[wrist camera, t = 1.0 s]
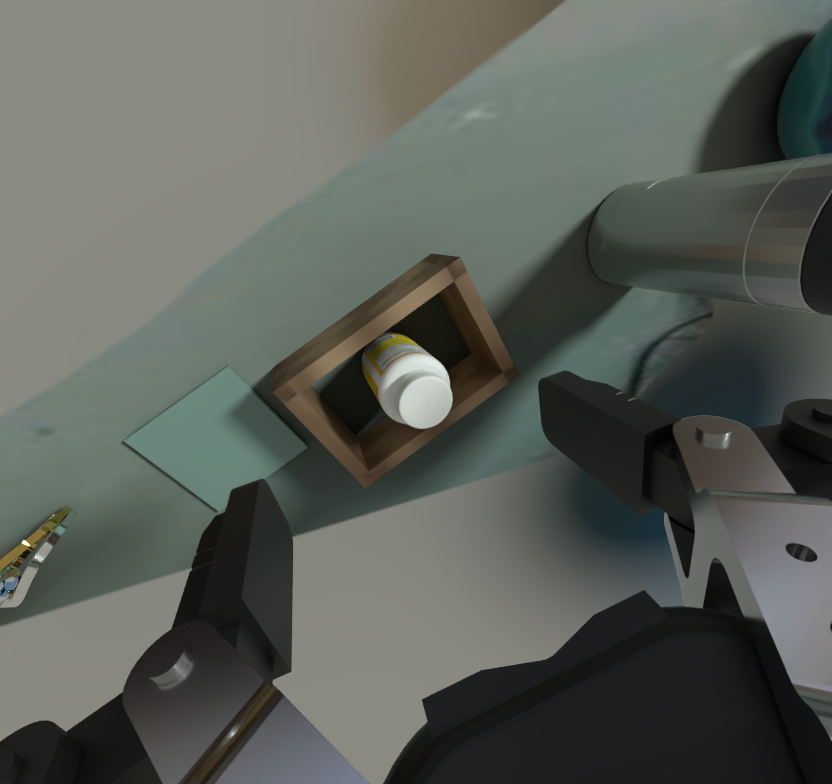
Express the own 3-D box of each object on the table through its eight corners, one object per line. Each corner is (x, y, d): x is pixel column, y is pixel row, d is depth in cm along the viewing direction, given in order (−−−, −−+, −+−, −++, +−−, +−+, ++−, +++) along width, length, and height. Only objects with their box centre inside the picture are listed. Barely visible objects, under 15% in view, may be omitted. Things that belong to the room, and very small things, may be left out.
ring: (70, 480, 30) (2, 556, 23) (107, 502, 31) (55, 579, 24) (2, 535, 30) (-87, 627, 23) (43, 554, 31) (-28, 646, 24)
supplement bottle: (405, 395, 36) (443, 447, 27) (351, 378, 34) (374, 430, 25) (427, 342, 35) (476, 378, 26) (373, 321, 32) (406, 353, 23)
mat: (228, 364, 30) (227, 366, 30) (307, 444, 35) (307, 447, 34) (125, 438, 30) (123, 441, 29) (220, 508, 35) (219, 512, 34)
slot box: (431, 253, 32) (459, 257, 27) (486, 355, 37) (519, 374, 32) (275, 366, 31) (272, 392, 26) (354, 452, 37) (365, 488, 31)
